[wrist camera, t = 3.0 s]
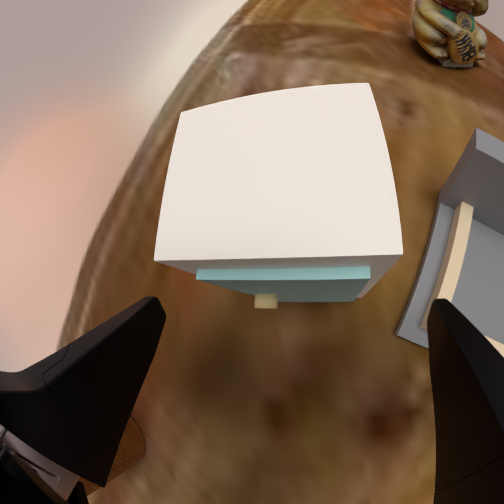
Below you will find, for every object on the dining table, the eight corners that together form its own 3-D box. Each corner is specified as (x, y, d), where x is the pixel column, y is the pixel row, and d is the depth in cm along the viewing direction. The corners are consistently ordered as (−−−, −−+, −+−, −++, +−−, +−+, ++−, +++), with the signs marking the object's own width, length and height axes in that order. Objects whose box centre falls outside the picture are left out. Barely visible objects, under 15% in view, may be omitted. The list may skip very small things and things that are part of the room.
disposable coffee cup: (83, 422, 22) (-3, 436, 11) (110, 372, 22) (2, 379, 11) (136, 486, 18) (53, 524, 7) (176, 447, 18) (69, 499, 7)
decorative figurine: (436, 76, 18) (447, -47, 4) (393, 36, 21) (383, -69, 7) (489, 71, 16) (511, -25, 2) (448, 32, 19) (451, -56, 5)
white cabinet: (361, 311, 17) (404, 297, 5) (273, 311, 19) (150, 294, 7) (358, 225, 18) (368, 82, 6) (276, 229, 20) (181, 112, 8)
